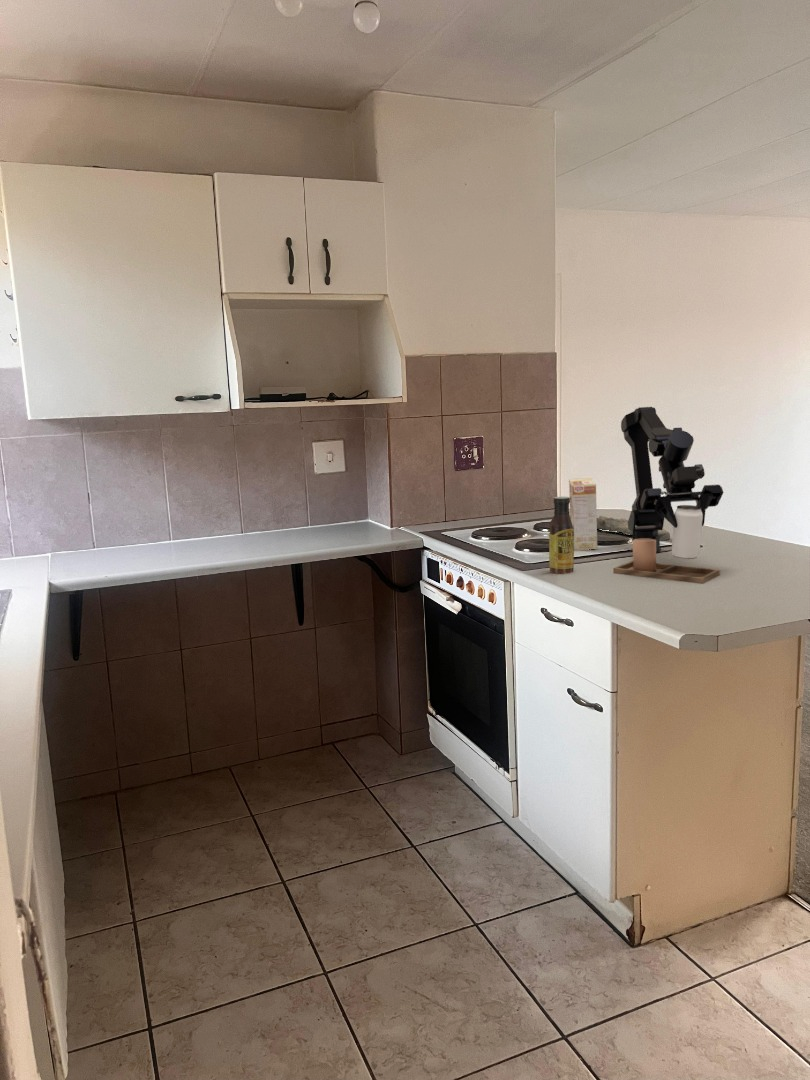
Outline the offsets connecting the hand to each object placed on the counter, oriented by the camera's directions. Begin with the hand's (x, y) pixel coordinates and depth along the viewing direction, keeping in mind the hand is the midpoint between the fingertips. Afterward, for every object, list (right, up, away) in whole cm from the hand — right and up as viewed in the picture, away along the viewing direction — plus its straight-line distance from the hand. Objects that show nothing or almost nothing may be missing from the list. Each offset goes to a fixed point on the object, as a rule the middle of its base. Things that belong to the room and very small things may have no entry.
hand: (689, 525), depth 193 cm
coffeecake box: (-14, -5, +51) cm, 53 cm away
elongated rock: (+3, -2, +66) cm, 66 cm away
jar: (-7, -11, +11) cm, 18 cm away
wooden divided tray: (-3, -12, +7) cm, 15 cm away
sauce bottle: (-27, -12, +17) cm, 34 cm away
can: (0, -7, +3) cm, 8 cm away
